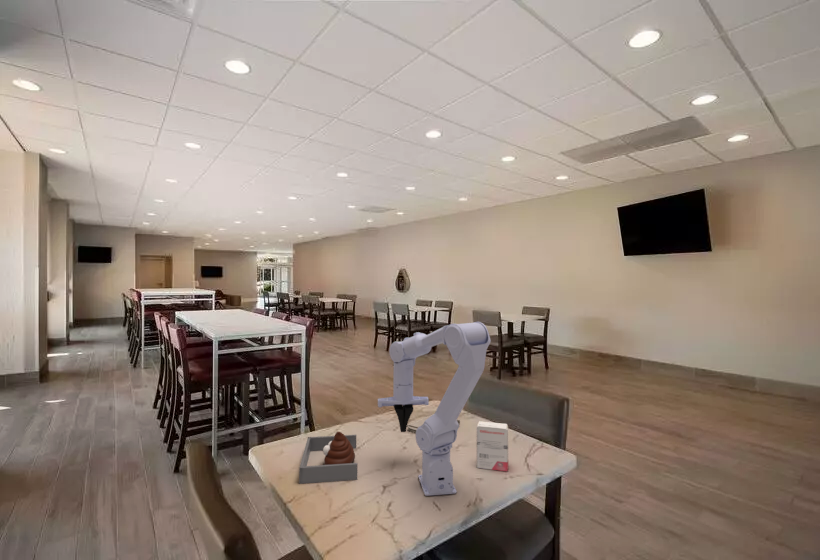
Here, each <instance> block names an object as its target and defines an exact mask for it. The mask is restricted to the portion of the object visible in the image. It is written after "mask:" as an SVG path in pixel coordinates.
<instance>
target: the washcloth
mask: <svg viewBox="0 0 820 560" xmlns="http://www.w3.org/2000/svg"><path fill="white" fill-rule="evenodd" d="M433 414H434V413H433ZM433 414H430V415H428V416H424V417H423V418H420V419H418V420H415V421H413V422H410V423H408V424H407V428H406V431H408V432H410V433H412V434H415V435H416V430H417V428H418V427H420V426H422V425H423V423H424V421H425V420H427V419H428V418H429V417H430V416H432V415H433ZM457 422H458V424H459V425H460V424H461V419H459V418H457Z"/></svg>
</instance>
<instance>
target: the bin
mask: <svg viewBox="0 0 820 560" xmlns="http://www.w3.org/2000/svg"><path fill="white" fill-rule="evenodd" d="M344 435H345V436H346V438H347V439H348V440H349V441H350V443H351V445H352V447H353V449H354V450H355V449H357V434H344ZM334 436H335V435H324V436H323V435H322V436H307V439H306V443H305V446H304V450H303V454H302V458H301V461H300V464H299V467H298V469H299V470H298V475H299V476H298V484H299V485H301V484H303V485H304V484H316V483H326V482H328V483H329V482H331V483H332V482H341V481H356V480H358V466H359V465H358V462H352V463H347V464H332V465H325V464H321V465H319V464H318V465H308V463H309V462H308V461H309V458H310V453H311V452H317V451H318V452H320V451H322V452H323V448H324V447H325V446H326V445H328V443H329V442H330V441H333V439H334Z"/></svg>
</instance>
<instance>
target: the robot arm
mask: <svg viewBox="0 0 820 560" xmlns="http://www.w3.org/2000/svg"><path fill="white" fill-rule="evenodd" d="M491 342H492V340H491V336H490V333H489V330H488V327H487V326H486V325H485V324H484V323H483V322H481V321H473V322H465V323H450V324H448V325H443V326H442V327H440V328H438V329H436V330H434V331H432V332H430V333H428V334H426V333H423V332H419V331H418V332H417V331H416V332H414V333H413V336H410V337H404V339H403V340H402V341H394V342H392V343H391V344H390V346H389V356H390V359H391V360H392V362H393V378H392V379H393V381H392V382H393V385H392V387H393V388H392V389H393V390H392V391H393V396H389V397H382V398H381V397H380V398H377V407H378V408H382V407H393V409H394V411H395V414H396V417H397V419H398V422H399V423H398V424H399V431H400V433H406V432H407V429H408V427H407V425H408V424H409V423H408V422H409V420H410V418H411V416H412V414H413V412H414V406H420V405H421V406H423V405H424V406H429V403H430V402H429V396H419V395H417V396H416V395H414V367H416V359H417V358H418V357H421V356H424V355H427V354H429V353H430V352H431V350H432V348H433V347H435V346H438V345H441V344H443V345H445V346H446V347H447V349H448V351H449V354H450V355H451V358H452V359H453V361H454V363H455V364H456V365H458V367H457V369H456V371H455V373H454V375H453V377H452V379H451V381H450V383H449V384H448V387H447V389H446V390H445V393H444V394H443V396H442V398H441V401H440V402H439V404H438V406H437V408H436V410H435V412H434V413H433V415H432V414H431V415H432V416H430V415H429V416H430V417H429V418H428V419H427V420H425V421H424V423H423V425H422V426H420V427H418V428H417V430H416V434H415V441H416V444H417V446H418V448H419V449H420V451H421V452H422V453H421V454H422V455H421V456H422V457H421V462H422V463H421V464H422V465H421V466H422V467H421V471H422V472H421V474H419V475H418V476H417V477H418V479H419V480H418V481H419V483H420V486H421V488H422V492H423V494H424V496H441V495H442V496H443V495H452V494H455V495H456V494H457V489H456V487H455V485H454V468H453V467H454V466H453V465H452V462H451V449H452V448H453V444H454V443H455V441H456V440H457V436H458V431H459V428H460V424H458V422H457V419H459V416H460V415H461V413H462V412H463V411H462V410H463V409H464V408H465V405H466V403H467V401H468V400H469V398H470V396H471V394H472V393H473V391H474V389H475V387H476V386H477V384H478V382H479V380H480V378H481V377H482V374H483V373H484V370H485V367H486V366H485V364H486V357H487V350H488V347H490V344H491Z"/></svg>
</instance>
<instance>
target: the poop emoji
mask: <svg viewBox="0 0 820 560" xmlns="http://www.w3.org/2000/svg"><path fill="white" fill-rule="evenodd" d="M345 435H346V434H344V433H342V432H341V431H336V432H335V434H334V435H333V436H334V439H333V441H330V442H329V443H328V445H326V446H325V447H324V448H323V450H322V453H323V455H325V456H324V460H323V462H324V465H332V464H347V463H354V461H355V459H356V454H355V449H353V447H352V445H351V443H350V441H349V440H348V439H347V438H346V436H345Z"/></svg>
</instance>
